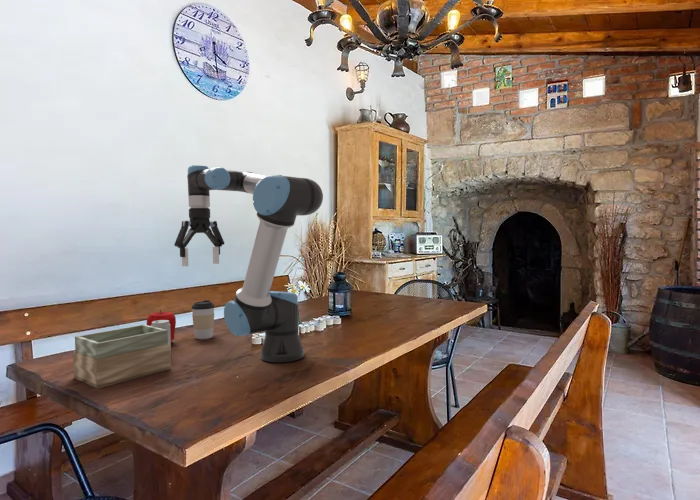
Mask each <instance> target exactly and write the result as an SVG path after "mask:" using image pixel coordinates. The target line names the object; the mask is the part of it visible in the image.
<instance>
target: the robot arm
mask: <svg viewBox="0 0 700 500" xmlns="http://www.w3.org/2000/svg"><path fill="white" fill-rule="evenodd" d="M216 190H217V191H225V192H226V191H227V192H228V191H229V192H241V193H246V194H251V195H252V201H253V204H252V205H253V208H254V210H255V211H256V217H257V218H258V220H259V224H258V228H257V231H256V235H255V238H254V244H253V247H252V251H251V255H250V259H249V262H248V266H247V269H246V273H245V278H244V281H243V284H242V287H241V288H239V289H237V291H236V292H235V297H234V300H230V301H228V302H226V304H225V305H224V308H223V318H224V321H225V325H226V327H227V329H228V330H229V332H230V333H231V334H233V335H234V336H236V337H243V336H249V335H253V334H258V333H262V332H264V335H265V336H264V339H263V344H262V348H261V349H260V360H262V361H265V362H268V363H270V362H271V363H289V362H294V361H297V360H300V359H302V358H303V357H304V356H305V348H304V347H303V344H302V341H301V338H300V334H299V299H298V295H297V293H295V292H289V291H276V290H271V288H272V284H273V280H274V277H275V274H276V271H277V267H278V264H279V260H280V256H281V252H282V248H283V246H284V243H285V238H286V236H287V232H288V229H289V228H291V227H293V226H294V225H295V222H296V219H297V216H308V215H312V214H314V213H316V212H317V211H318V210H319V209H320V207H321V206H322V204H323V200H324V195H323V194H324V193H323V189H322V188H321V186H320V185H319V184H318V182H316V181H315V180H313V179H310V178H305V177H296V176H289V175H288V176H286V175H281V174H276V175H273V174H271V175H269V174H268V175H263V174H258V173H256V172H251V171H239V170H232V169H225V168H224V167H220V166H218V167H216V166H213V167H211V168H209V167H208V166H207V165H202V164H194V165H189V166H188V168H187V191H188V192H187V194H188V195H187V197H188V207H189V209H188V218H189V220H182V221H181V227H180V229H179V232H178V234H177V237H176V239H175V242H174V244H173V245H174V247H177V248H178V249H179V256H180V258H181V266H182V267H189V248H188V247H187V246H188V244H189V243H190V241H192V238H193V237H194V236H195V235H196V234H204V235H206V237H207V238H208V239H209V241H210V242H211V243H212V245H213V246H212V264H214V265H215V264H216V265H220V254H221V248H222V246H224V245H225V240H224V239H223V236H222V234H221V232H220V229H219V227H218V222H217V221H216V220H210V219H211V209H210V207H211V198H210V197H211V196H210V191H216ZM189 227H190V228H189Z"/></svg>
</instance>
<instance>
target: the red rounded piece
mask: <svg viewBox="0 0 700 500" xmlns="http://www.w3.org/2000/svg"><path fill="white" fill-rule="evenodd" d="M157 320H169V323H170V334H171V342H172V341H173V340H175V335H176V334H175V332H176V324H177V320H176V315H175V314H174V313H173V312H170V311H162V310H161V309H160V310H159V311H157V312H152V313H150V314H148V316H147V317H146V325H148V326H151V325H152V322H153V321H157Z"/></svg>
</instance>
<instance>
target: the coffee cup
mask: <svg viewBox="0 0 700 500" xmlns="http://www.w3.org/2000/svg"><path fill="white" fill-rule="evenodd" d="M191 312H192V314H191V315H192V325H193V332H194V338H195V339H197V340H209V339H211V338H213V337H214V327H215V326H214V325H215V324H214V323H215V304H214V303H213V302H212V301H210V300H209V299H208V300H207V299H205V300H202V301H196V302H194V303H193V304H192V305H191Z"/></svg>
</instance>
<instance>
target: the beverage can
mask: <svg viewBox="0 0 700 500" xmlns="http://www.w3.org/2000/svg"><path fill="white" fill-rule="evenodd" d="M151 326H152V327H157V328H161V329H165V330H168V344H170V352H172V347H171V345H172V343H171V342H172V341H171V334H170V323H169V320H157V321H153V322H152V325H151Z"/></svg>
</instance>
